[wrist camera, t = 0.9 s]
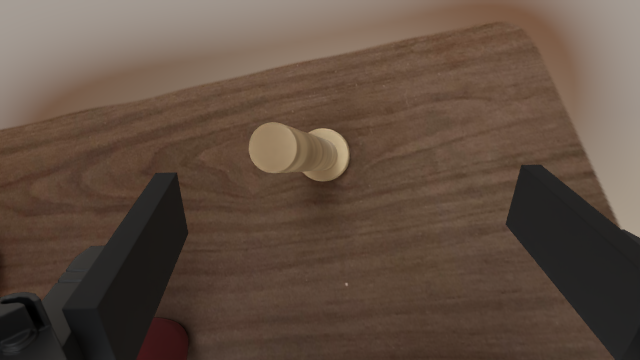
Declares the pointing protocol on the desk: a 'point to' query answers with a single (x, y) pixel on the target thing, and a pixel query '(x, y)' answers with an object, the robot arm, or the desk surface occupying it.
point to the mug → (164, 341)
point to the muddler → (299, 151)
